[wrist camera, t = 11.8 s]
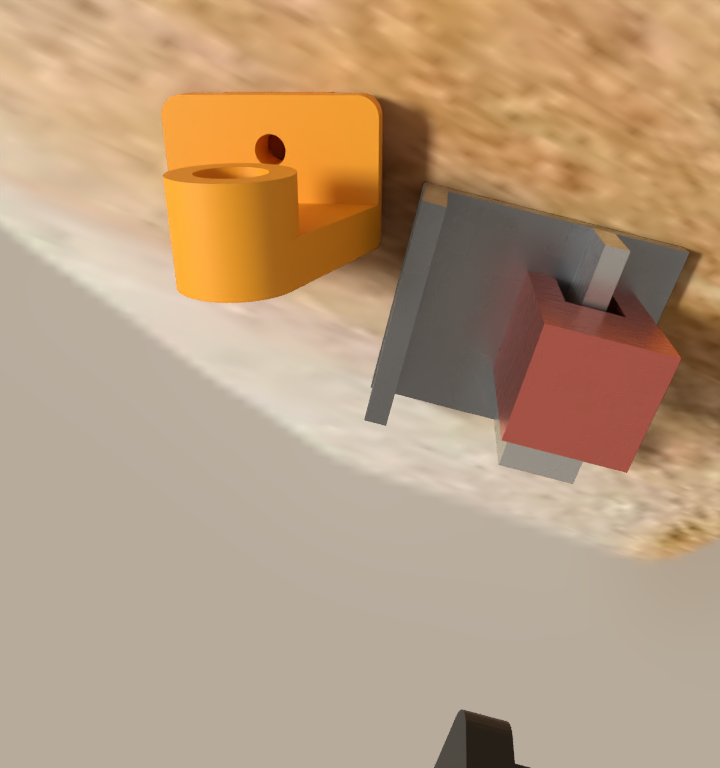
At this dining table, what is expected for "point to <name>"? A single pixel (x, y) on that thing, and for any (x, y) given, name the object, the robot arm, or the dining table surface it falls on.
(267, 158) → the bracket
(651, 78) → the dining table surface
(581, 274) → the bracket
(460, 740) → the robot arm
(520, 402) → the block
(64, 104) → the dining table surface
